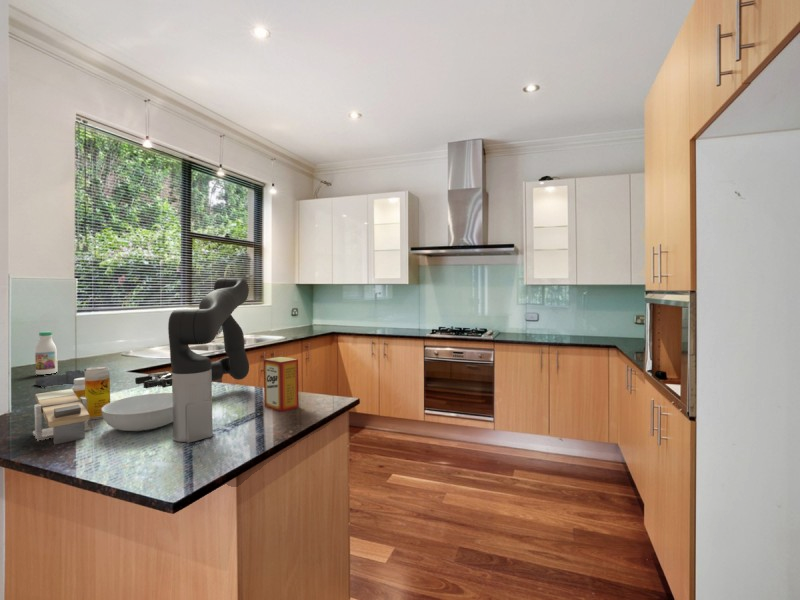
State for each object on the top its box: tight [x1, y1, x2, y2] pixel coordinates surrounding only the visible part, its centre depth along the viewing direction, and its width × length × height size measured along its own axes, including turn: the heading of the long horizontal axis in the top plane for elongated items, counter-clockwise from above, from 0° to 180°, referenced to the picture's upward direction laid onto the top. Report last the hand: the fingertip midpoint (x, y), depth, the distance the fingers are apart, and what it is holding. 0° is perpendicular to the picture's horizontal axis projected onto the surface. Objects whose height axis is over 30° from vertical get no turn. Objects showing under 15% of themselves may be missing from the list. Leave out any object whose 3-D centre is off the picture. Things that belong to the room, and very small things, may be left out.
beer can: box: [84, 365, 111, 420], centre depth 124 cm, size 6×6×15 cm
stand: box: [32, 397, 91, 445], centre depth 108 cm, size 14×11×8 cm
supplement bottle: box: [70, 378, 85, 400], centre depth 134 cm, size 5×5×10 cm
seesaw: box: [34, 388, 90, 428], centre depth 110 cm, size 22×8×3 cm, turn 49°
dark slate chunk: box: [34, 368, 87, 387], centre depth 174 cm, size 15×22×5 cm
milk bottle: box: [34, 331, 59, 375], centre depth 190 cm, size 8×8×20 cm
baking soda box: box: [263, 356, 300, 413], centre depth 133 cm, size 10×6×16 cm
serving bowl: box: [101, 392, 173, 432], centre depth 115 cm, size 21×21×7 cm
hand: (139, 383), depth 132 cm, fingers open, 8 cm apart
